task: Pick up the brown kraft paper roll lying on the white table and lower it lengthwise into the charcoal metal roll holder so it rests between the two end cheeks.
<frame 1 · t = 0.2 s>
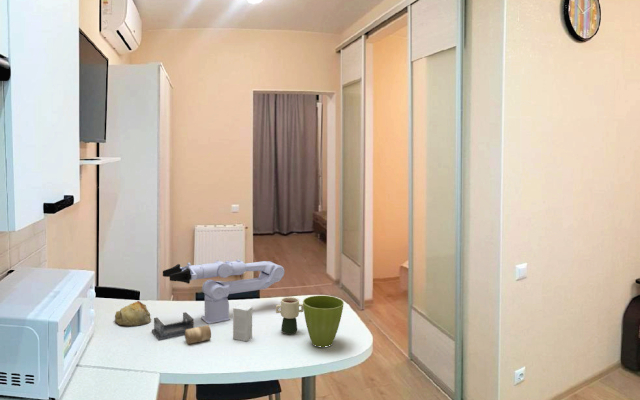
hand: (166, 275, 183), 21 cm above the breakfast bar, tool horizontal, fingers open, 7 cm apart
holder: (173, 332, 183), on the breakfast bar
pastry: (133, 322, 193), on the breakfast bar
roll: (198, 341, 176), on the breakfast bar
skincare box: (242, 338, 180), on the breakfast bar
flower pot: (321, 344, 177), on the breakfast bar
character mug: (289, 332, 187), on the breakfast bar
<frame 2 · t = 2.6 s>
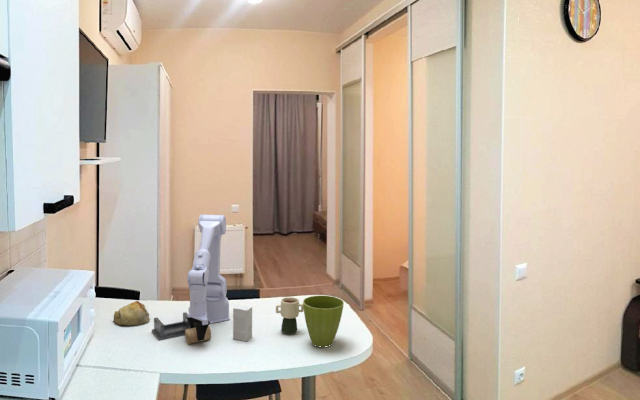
hand: (198, 337, 176), 1 cm above the breakfast bar, tool pointing down, fingers closed on roll, 5 cm apart
roll: (198, 341, 176), on the breakfast bar, touching gripper
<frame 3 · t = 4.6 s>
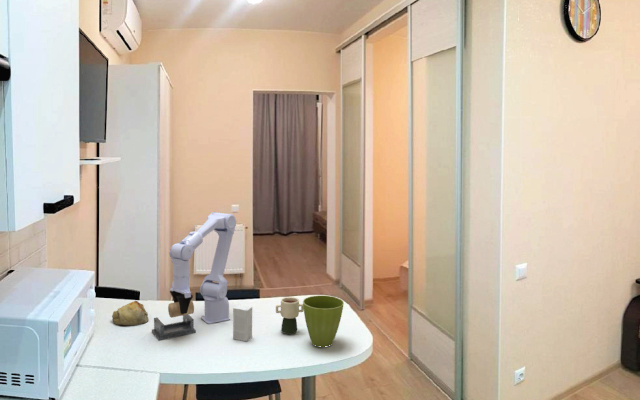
hand: (181, 311, 179), 9 cm above the breakfast bar, tool pointing down, fingers closed on roll, 5 cm apart
roll: (181, 315, 179), point 8 cm above the breakfast bar, touching gripper
when the fingers open (4 cm above the breakfast bar, at t = 6.5 s): roll stays where it is, resting on holder.
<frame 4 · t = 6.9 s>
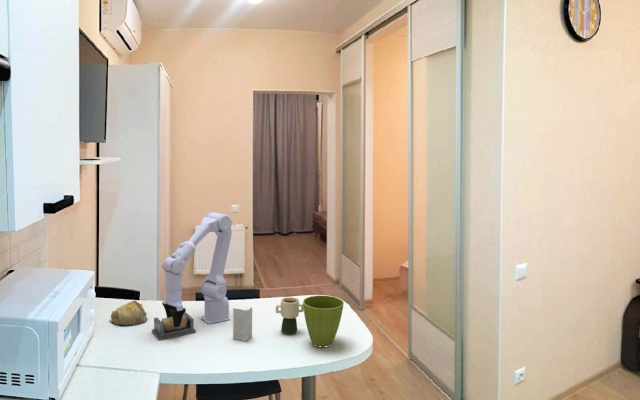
hand: (173, 323, 182), 4 cm above the breakfast bar, tool pointing down, fingers open, 7 cm apart
roll: (173, 330, 182), point 1 cm above the breakfast bar, touching holder
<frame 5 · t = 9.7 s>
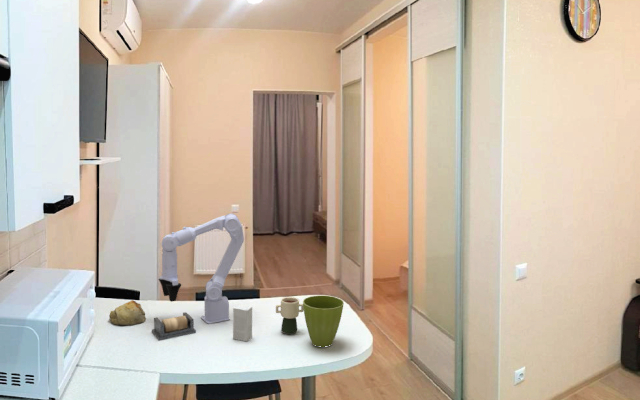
hand: (169, 298, 192), 10 cm above the breakfast bar, tool pointing down, fingers open, 7 cm apart
roll: (173, 329, 182), point 1 cm above the breakfast bar, tilted 22°, touching holder
at the end: roll 0.2 cm off-centre on the holder, point 1.2 cm above the holder's base; the gripper is holding nothing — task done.
